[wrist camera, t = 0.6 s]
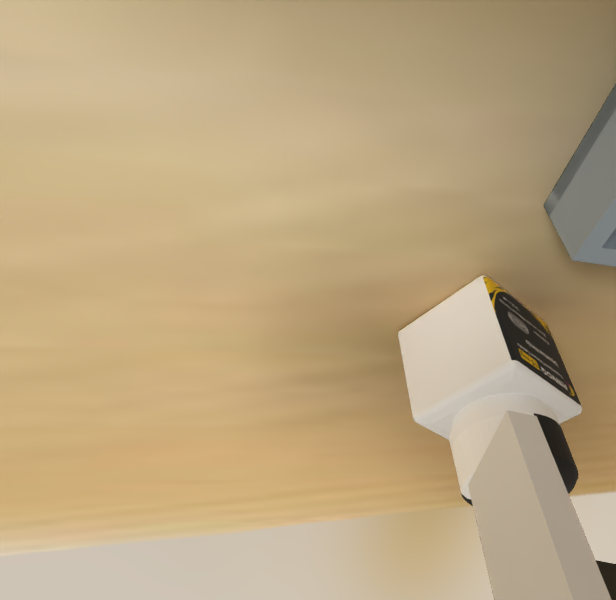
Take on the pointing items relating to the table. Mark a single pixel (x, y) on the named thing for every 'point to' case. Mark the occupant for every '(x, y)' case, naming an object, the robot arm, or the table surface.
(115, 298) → the table surface
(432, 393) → the medicine bottle
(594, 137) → the tote
